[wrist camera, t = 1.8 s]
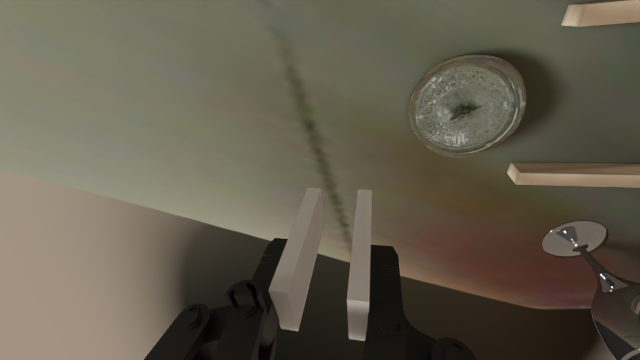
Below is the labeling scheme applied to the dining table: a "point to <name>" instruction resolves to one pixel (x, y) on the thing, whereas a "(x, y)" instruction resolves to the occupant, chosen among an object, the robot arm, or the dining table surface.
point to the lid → (467, 105)
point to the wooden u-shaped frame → (629, 6)
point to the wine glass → (602, 287)
